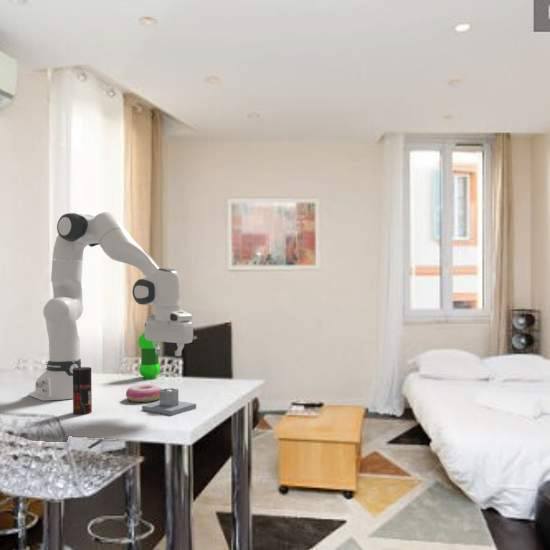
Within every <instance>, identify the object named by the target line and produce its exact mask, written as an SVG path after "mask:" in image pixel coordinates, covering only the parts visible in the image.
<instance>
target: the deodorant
mask: <svg viewBox="0 0 550 550" xmlns="http://www.w3.org/2000/svg"><path fill="white" fill-rule="evenodd" d="M92 400H93V399H92V367H89V366H81V367H79V368H74V369H73V398H72V414H73V415H78V416H83V415H89V414H91V413H92V408H93V407H92V406H93V405H92V404H93V403H92Z"/></svg>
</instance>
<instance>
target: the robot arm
mask: <svg viewBox="0 0 550 550" xmlns="http://www.w3.org/2000/svg"><path fill="white" fill-rule="evenodd" d="M56 230H57V231H56V232H57V233H58V235H57V236H56V239H55V242H54V247H53V252H52V259H51V260H52V261H51V274H50V281H51V284H52V291H53V297H52V298H51V299H49V300H48V301H47V303H46V304H45V305H44V307H43V311H42V312H43V313H42V314H43V317H44V319H45V324H46V331H47V337H48V355H49V357H48V361H45V362H44V363H45V364H44V365H46V368H45V369H46V370H45V371H44V372H43V373H42V374H41V375H40V376H39V377H38V378H37V379H36V381H35V385H34V386H35V388H34V391H31V392H29V393H28V396H29V397H32V398H35V399H37V400H40V401H42V402H45V401H61V400H64V401H65V400H70V399H71V400H73V369H74V368H79V367H82V359H81V358H80V355H81V353H80V349H81V348H80V337H79V333H78V328H77V326H78V325H77V320H79V318H81V316H82V314H83V311H84V306H83V289H82V287H83V286H82V276H83V275H82V274H83V264H84V263H83V260H84V257H83V256H84V249H85V248H86V247H87V246H89V247H90V248H92V247H96V246H98V245H99V246H100V248H101V249H102V251H103V252H104V254H105V255H106V256H108V258H110V259H111V260H113V261H117V262H119V263H123V264H128V265H130V266H132V267H134V268H136V269H138V270H139V271H140V272H141V273H142V274H143V275H144V276H145V277H143V278H139V279H137V280H136V281H135V283H134V284H133V286H132V297H133V299H134V301H135V302H136V303H137V304H138V305H141V306H154V314H149V315H148V316H147V317H146V322H145V323H146V326H145V325H144V327H145V328H144V332H145V339H146V340H148V341H153V346H154V348H155V354H158V355H162V353H163V352H162V351H163V349H162V348H161V345H160V346H159V344H160V342H161V343H163V342H164V343H172V344H173V343H174V344H176V347H177V349H176V350H174V356H175V357H181V356H182V351H183V349H184V348H185V344H190V343H192V342H193V340H194V327H193V323H192V321H193V314H191V313H190V312H187V311H185V310H183V309H182V304H181V295H182V285H181V284H182V283H181V277H180V274H179V272H178V271H177V270H175V269H172V268H165V267H162V268H161V267H160V266H159V264H158V263H157V262H156V261H155V260H154V259H153V257H152V256H151V255H150V254H149V253H148V252H147V251H146V250H145V249H144V248H143V247H142V246H140V244H138V242H136V240H134V238H133V237H132V235H130V233H129V232H128V230H127V229H126V227H125V226H124V225H123V224H122V222H121V221H120V220H119V219H118V218H117V217H116V216H115V215H114V214H113V213H111V212H108V211H107V212H100V213H98V214H96V215H90V214H79V213H75V212H73V213H71V212H68V213H64V214H62V215H61V216H60V218H59V219H58V221H57V224H56Z"/></svg>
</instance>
